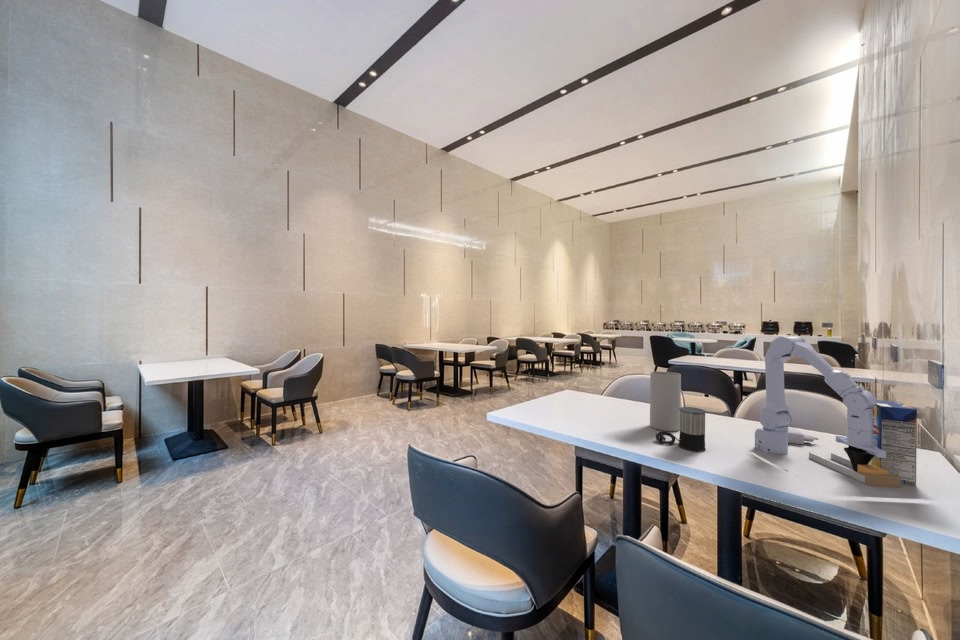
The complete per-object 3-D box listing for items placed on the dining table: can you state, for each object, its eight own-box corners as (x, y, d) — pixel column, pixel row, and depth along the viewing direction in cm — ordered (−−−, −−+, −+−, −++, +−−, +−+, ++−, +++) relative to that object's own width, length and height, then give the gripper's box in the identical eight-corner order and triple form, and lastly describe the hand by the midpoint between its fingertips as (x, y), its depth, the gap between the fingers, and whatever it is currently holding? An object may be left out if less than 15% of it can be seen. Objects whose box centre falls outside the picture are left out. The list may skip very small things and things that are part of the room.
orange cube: (871, 483, 110) (871, 470, 110) (857, 477, 114) (857, 464, 114) (888, 484, 109) (888, 471, 109) (873, 477, 114) (873, 465, 114)
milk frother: (711, 452, 138) (711, 412, 138) (668, 451, 138) (669, 412, 138) (690, 439, 152) (690, 404, 152) (652, 439, 152) (652, 403, 152)
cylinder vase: (670, 423, 175) (670, 371, 175) (686, 431, 163) (687, 375, 163) (644, 424, 174) (645, 371, 174) (659, 432, 162) (659, 375, 162)
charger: (822, 448, 144) (773, 442, 151) (814, 441, 152) (769, 435, 159) (822, 436, 144) (774, 430, 151) (814, 430, 152) (769, 424, 159)
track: (869, 489, 108) (869, 475, 108) (808, 460, 130) (808, 449, 130) (900, 490, 108) (900, 476, 108) (833, 461, 130) (833, 450, 130)
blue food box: (866, 471, 123) (866, 399, 123) (898, 476, 119) (899, 402, 119) (880, 484, 112) (880, 406, 112) (916, 490, 108) (917, 409, 108)
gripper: (897, 437, 108) (897, 483, 108) (851, 423, 123) (851, 463, 123) (871, 436, 109) (871, 482, 109) (829, 422, 123) (828, 462, 123)
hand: (859, 472), depth 116 cm, fingers closed
